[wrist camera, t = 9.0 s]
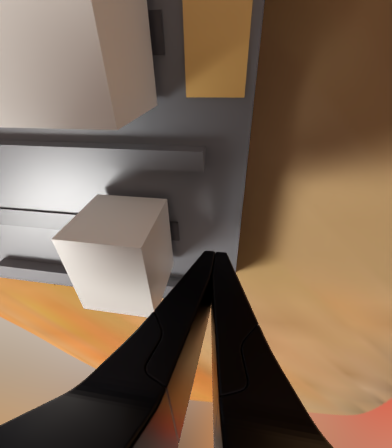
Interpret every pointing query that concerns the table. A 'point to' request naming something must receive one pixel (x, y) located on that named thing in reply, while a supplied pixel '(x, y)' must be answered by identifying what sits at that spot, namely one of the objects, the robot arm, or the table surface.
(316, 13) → the table surface
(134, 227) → the tab
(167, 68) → the switch bank
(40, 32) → the tab
